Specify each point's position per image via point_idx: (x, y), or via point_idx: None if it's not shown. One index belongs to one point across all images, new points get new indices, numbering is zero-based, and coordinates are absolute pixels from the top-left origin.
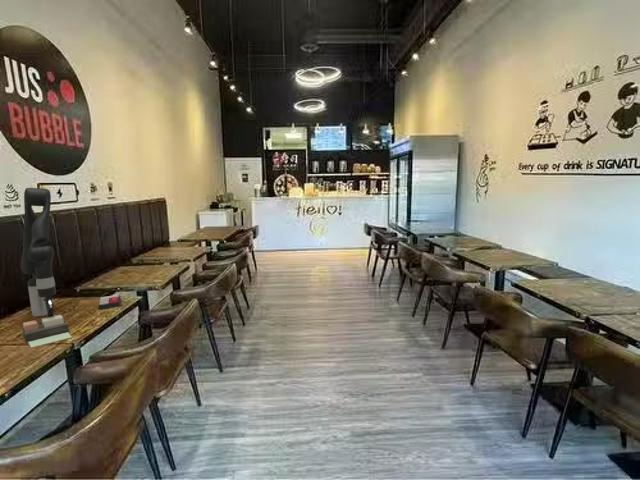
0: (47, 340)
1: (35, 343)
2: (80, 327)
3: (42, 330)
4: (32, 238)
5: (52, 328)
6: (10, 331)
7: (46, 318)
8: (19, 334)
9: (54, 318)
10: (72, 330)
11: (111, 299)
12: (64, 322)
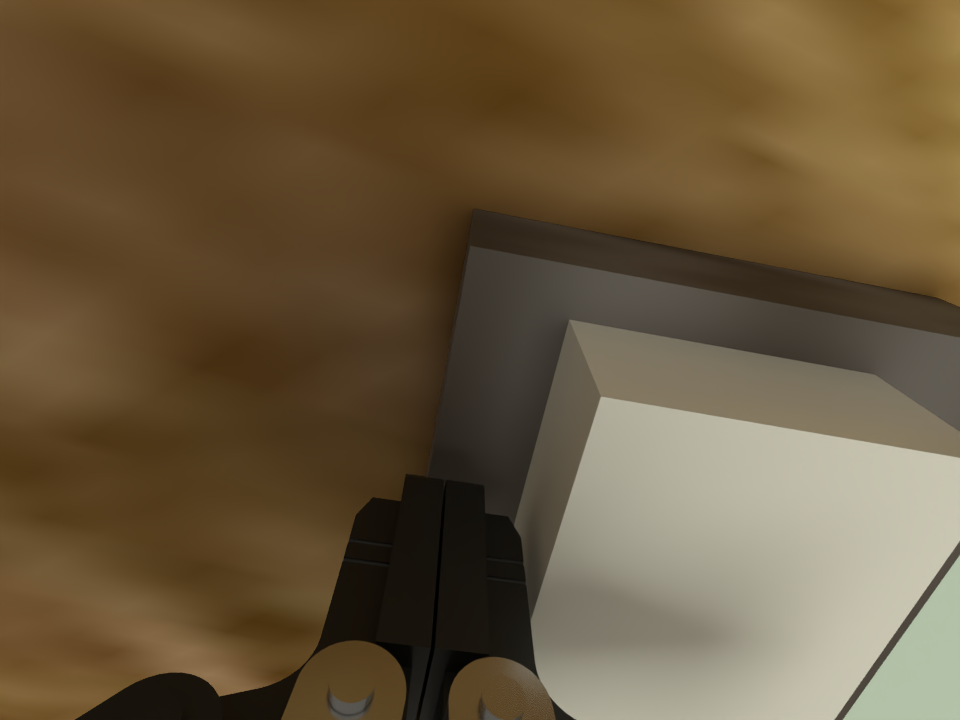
0: (949, 612)
1: (879, 703)
2: (926, 10)
3: (839, 713)
4: None
5: (919, 602)
6: (30, 700)
7: (577, 705)
8: (271, 682)
9: (813, 619)
10: (908, 212)
11: None
12: (838, 344)
